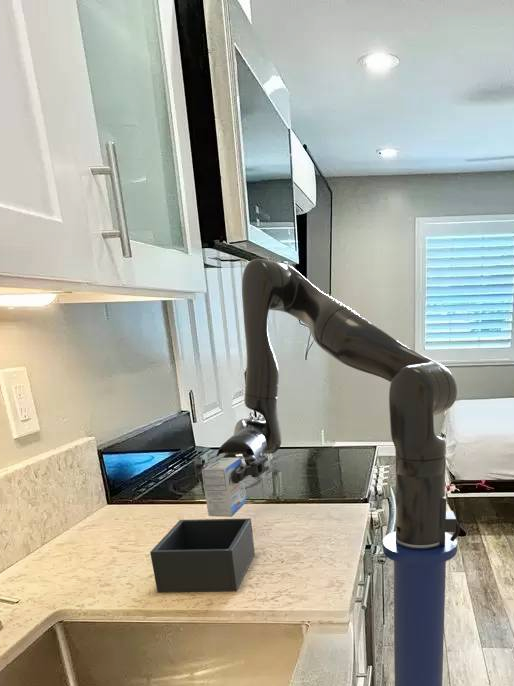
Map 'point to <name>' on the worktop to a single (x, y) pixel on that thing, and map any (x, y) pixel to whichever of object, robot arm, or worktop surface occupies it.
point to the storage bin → (203, 556)
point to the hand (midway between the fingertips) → (219, 478)
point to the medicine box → (223, 488)
